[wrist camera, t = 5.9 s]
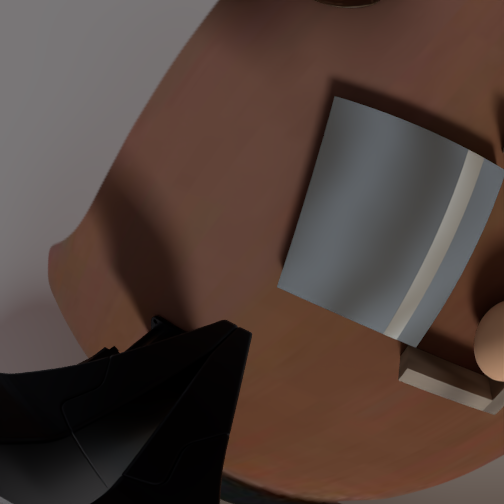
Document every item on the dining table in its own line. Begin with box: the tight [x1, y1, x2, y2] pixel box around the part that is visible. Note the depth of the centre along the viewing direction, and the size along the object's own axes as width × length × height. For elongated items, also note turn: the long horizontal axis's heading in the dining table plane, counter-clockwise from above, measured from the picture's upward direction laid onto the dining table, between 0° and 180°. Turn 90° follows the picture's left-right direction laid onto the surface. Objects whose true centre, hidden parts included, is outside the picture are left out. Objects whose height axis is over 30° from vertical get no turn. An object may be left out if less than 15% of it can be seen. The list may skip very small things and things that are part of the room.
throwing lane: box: [277, 96, 504, 415], centre depth 14 cm, size 20×16×2 cm
